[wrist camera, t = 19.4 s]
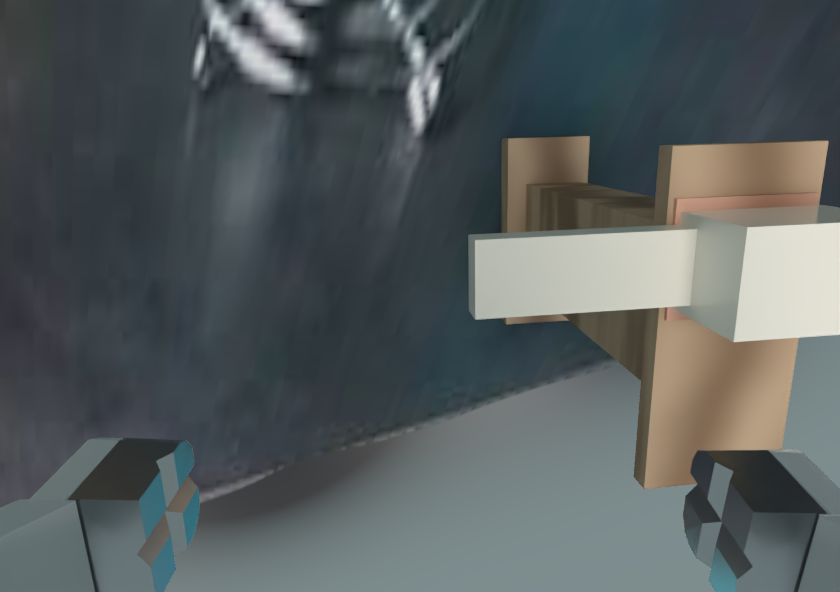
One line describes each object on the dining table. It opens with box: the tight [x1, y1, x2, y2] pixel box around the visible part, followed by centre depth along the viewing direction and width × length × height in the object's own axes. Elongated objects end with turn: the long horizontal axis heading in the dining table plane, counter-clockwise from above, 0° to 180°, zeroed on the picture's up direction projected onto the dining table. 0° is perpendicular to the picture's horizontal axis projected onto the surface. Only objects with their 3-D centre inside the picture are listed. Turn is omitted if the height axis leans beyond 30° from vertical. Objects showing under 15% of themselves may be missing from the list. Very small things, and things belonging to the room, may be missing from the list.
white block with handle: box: [468, 205, 840, 342], centre depth 22 cm, size 14×4×4 cm, turn 92°
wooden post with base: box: [501, 136, 828, 489], centre depth 38 cm, size 6×15×26 cm, turn 2°
